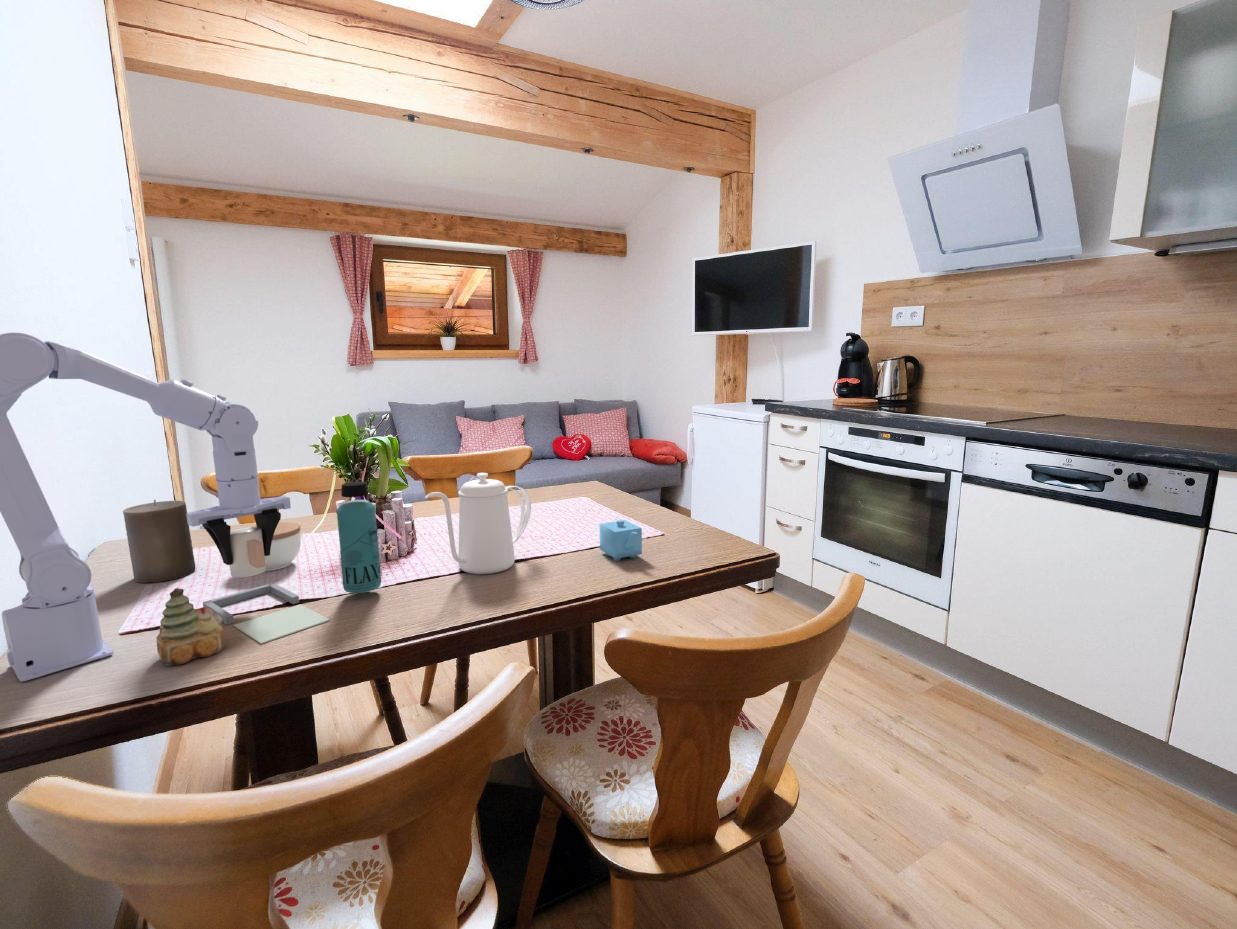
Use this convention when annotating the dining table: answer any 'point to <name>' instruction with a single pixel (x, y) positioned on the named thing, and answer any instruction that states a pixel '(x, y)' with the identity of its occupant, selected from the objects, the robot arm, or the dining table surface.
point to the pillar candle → (159, 541)
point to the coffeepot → (485, 525)
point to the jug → (247, 552)
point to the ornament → (188, 631)
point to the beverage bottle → (358, 541)
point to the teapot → (620, 539)
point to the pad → (280, 623)
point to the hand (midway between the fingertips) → (247, 558)
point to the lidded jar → (283, 545)
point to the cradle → (246, 594)
